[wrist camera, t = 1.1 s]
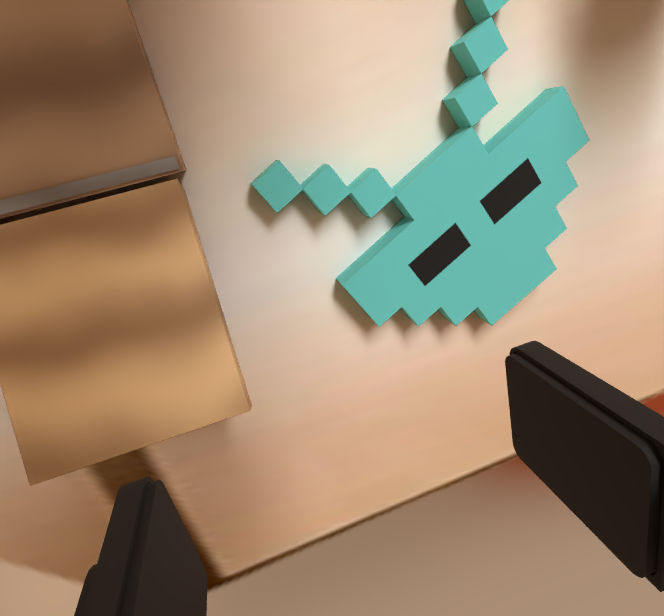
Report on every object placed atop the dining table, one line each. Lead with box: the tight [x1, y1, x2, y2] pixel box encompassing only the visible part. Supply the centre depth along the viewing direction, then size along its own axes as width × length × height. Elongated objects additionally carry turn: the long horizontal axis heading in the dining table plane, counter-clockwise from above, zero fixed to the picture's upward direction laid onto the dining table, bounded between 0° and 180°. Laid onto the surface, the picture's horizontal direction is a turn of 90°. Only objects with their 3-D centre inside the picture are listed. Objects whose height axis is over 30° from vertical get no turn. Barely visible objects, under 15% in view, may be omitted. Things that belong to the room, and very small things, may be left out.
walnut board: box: [0, 0, 186, 219], centre depth 23 cm, size 13×13×2 cm
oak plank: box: [0, 179, 252, 486], centre depth 26 cm, size 14×12×2 cm
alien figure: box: [251, 0, 589, 327], centre depth 32 cm, size 20×2×20 cm
